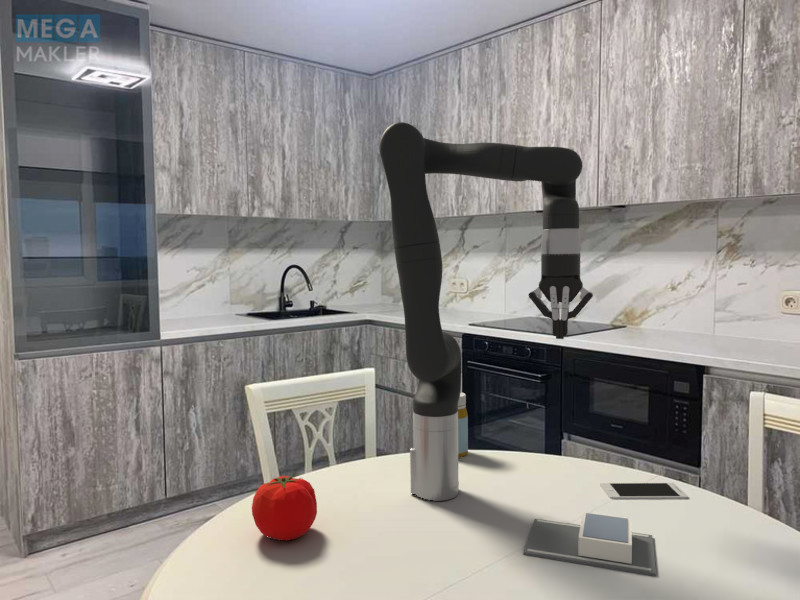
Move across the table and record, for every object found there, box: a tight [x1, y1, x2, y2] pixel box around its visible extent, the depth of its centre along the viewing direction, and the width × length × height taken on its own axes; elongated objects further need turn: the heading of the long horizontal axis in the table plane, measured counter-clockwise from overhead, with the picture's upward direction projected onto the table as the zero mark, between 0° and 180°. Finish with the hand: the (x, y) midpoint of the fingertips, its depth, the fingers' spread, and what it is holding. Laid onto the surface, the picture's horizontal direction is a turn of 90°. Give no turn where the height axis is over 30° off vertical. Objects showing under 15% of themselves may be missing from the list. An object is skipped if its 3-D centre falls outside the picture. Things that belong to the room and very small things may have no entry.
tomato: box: [251, 475, 318, 541], centre depth 105 cm, size 12×12×10 cm
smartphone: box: [599, 482, 689, 500], centre depth 122 cm, size 7×16×1 cm, turn 88°
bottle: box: [458, 392, 469, 459], centre depth 146 cm, size 7×7×15 cm
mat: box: [522, 518, 657, 577], centre depth 100 cm, size 20×13×1 cm, turn 69°
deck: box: [578, 511, 633, 564], centre depth 99 cm, size 3×10×8 cm
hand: (560, 338), depth 119 cm, fingers closed
